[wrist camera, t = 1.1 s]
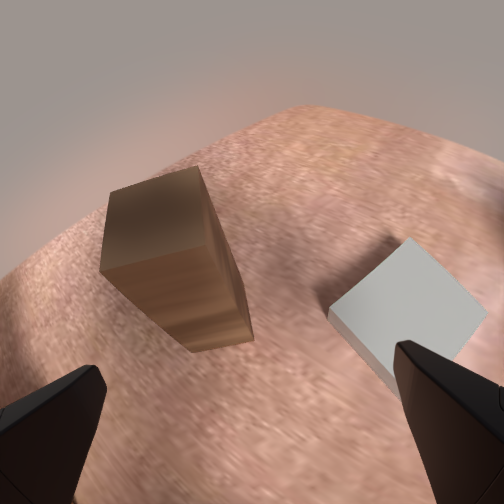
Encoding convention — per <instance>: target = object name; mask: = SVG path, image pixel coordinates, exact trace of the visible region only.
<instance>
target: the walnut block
mask: <svg viewBox="0 0 504 504" xmlns="http://www.w3.org/2000/svg"><path fill="white" fill-rule="evenodd" d="M99 272H100V273H101V274H102V275H103V276H104V277H105V278H106V279H107V280H108V281H109V282H110V283H112V284H113V285H114V286H115V287H116V288H117V289H118V290H119V291H120V292H121V293H122V294H123V295H124V296H126V297H127V298H128V299H129V300H130V301H131V302H132V303H133V304H134V305H135V306H137V307H138V308H139V309H140V310H141V311H142V312H143V313H144V314H146V315H147V316H148V317H149V318H150V319H151V320H153V321H154V322H155V323H156V324H157V325H158V326H160V327H161V328H162V329H163V330H164V331H166V332H167V333H168V334H169V335H170V336H172V337H173V338H174V339H175V340H176V341H178V342H179V343H180V344H181V345H183V346H184V347H185V348H186V349H188V350H189V351H190V352H191V353H194V352H200V351H206V350H211V349H216V348H222V347H227V346H232V345H237V344H241V343H246V342H251V341H255V340H254V335H253V330H252V325H251V320H250V314H249V309H248V304H247V298H246V293H245V288H244V283H243V281H242V278H241V276H240V273H239V271H238V268H237V266H236V263H235V260H234V258H233V255H232V253H231V250H230V248H229V245H228V243H227V240H226V238H225V235H224V232H223V230H222V227H221V225H220V222H219V220H218V217H217V214H216V212H215V209H214V207H213V204H212V201H211V199H210V196H209V194H208V191H207V188H206V186H205V183H204V181H203V178H202V175H201V173H200V170H199V167H198V166H194V167H190V168H187V169H183V170H180V171H176V172H173V173H170V174H166V175H163V176H160V177H156V178H153V179H150V180H147V181H143V182H140V183H137V184H134V185H131V186H128V187H125V188H122V189H119V190H116V191H113V192H111V193H110V197H109V203H108V209H107V215H106V222H105V229H104V236H103V244H102V252H101V261H100V270H99Z"/></svg>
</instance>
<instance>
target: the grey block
mask: <svg viewBox="0 0 504 504" xmlns="http://www.w3.org/2000/svg"><path fill="white" fill-rule="evenodd" d="M487 314H488V312H487V311H486V310H485V308H484V307H483V306H482V305H481V304H480V303H479V302H478V301H477V300H476V299H475V298H474V297H473V296H472V295H471V294H470V293H469V292H468V291H467V290H466V289H465V288H464V287H463V286H462V285H461V284H460V283H459V282H458V281H457V280H456V279H455V278H454V277H453V276H452V275H451V274H450V273H449V272H448V271H447V270H446V269H445V268H444V267H443V266H442V265H440V264H439V263H438V262H437V261H436V260H435V259H434V258H433V257H432V256H431V255H430V254H429V253H428V252H426V251H425V250H424V249H423V248H422V247H421V246H420V245H419V244H418V243H416V242H415V241H414V240H413V239H412V238H411V237H409V238H408V239H407V240H406V241H405V242H404V243H403V244H402V245H401V246H400V247H399V248H397V249H396V250H395V251H394V252H393V253H392V254H391V255H390V256H389V257H388V258H386V259H385V260H384V261H383V262H382V263H381V264H380V265H379V266H377V267H376V268H375V269H374V270H373V271H372V272H371V273H369V274H368V275H367V276H366V277H365V278H364V279H362V280H361V281H360V282H359V283H358V284H357V285H355V286H354V287H353V288H352V289H351V290H349V291H348V292H347V293H346V294H345V295H343V296H342V297H341V298H340V299H339V300H337V301H336V302H335V303H334V304H332V305H331V306H330V307H329V312H328V318H327V320H328V322H329V323H330V324H331V325H332V326H333V327H334V328H335V329H336V330H337V331H338V333H339V334H340V335H341V336H342V337H343V338H344V339H345V340H346V341H347V342H348V344H349V345H350V346H351V347H352V348H353V349H354V350H355V351H356V352H357V353H358V355H359V356H360V357H361V358H362V359H363V360H364V361H365V362H366V363H367V365H368V366H369V367H370V368H371V369H372V370H373V371H374V372H375V373H376V374H377V376H378V377H379V378H380V379H381V380H382V381H383V382H384V383H385V384H386V386H387V387H388V388H389V389H390V390H391V391H392V392H393V393H394V394H395V396H396V397H397V398H398V399H399V400H400V401H401V397H400V394H399V390H398V386H397V383H396V379H395V376H394V371H393V361H394V351H395V345H396V343H397V342H399V341H404V340H412V341H414V342H416V343H418V344H420V345H422V346H424V347H426V348H427V349H429V350H431V351H433V352H435V353H437V354H439V355H441V356H443V357H445V358H447V359H449V360H451V361H452V360H453V359H454V358H455V357H456V355H457V354H458V353H459V352H460V350H461V349H462V348H463V347H464V345H465V344H466V343H467V341H468V340H469V339H470V338H471V336H472V335H473V334H474V332H475V331H476V330H477V328H478V327H479V325H480V324H481V323H482V321H483V320H484V318H485V317H486V315H487ZM401 402H402V401H401Z"/></svg>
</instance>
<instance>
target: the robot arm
mask: <svg viewBox="0 0 504 504" xmlns="http://www.w3.org/2000/svg"><path fill="white" fill-rule="evenodd" d="M393 371H394V376H395V379H396V383H397V386H398V390H399V394H400V397H401V401H402V405H403V409H404V413H405V416H406V419H407V422H408V424H409V427H410V429H411V432H412V435H413V437H414V440H415V442H416V445H417V448H418V450H419V453H420V456H421V459H422V461H423V464H424V467H425V470H426V473H427V476H428V479H429V482H430V484H431V487H432V490H433V493H434V497H435V500H436V503H437V504H504V387H502V386H499V385H498V384H496V383H494V382H492V381H490V380H488V379H486V378H484V377H482V376H480V375H478V374H476V373H474V372H472V371H470V370H469V369H467V368H465V367H463V366H461V365H459V364H457V363H455V362H453V361H451V360H449V359H447V358H445V357H443V356H441V355H439V354H437V353H435V352H433V351H431V350H429V349H427V348H426V347H424V346H422V345H420V344H418V343H416V342H414V341H412V340H404V341H399V342H397V343H396V345H395V351H394V361H393ZM106 393H107V386H106V383H105V381H104V379H103V377H102V375H101V373H100V370H99V368H98V367H97V366H95V365H84V366H82V367H80V368H78V369H76V370H74V371H72V372H71V373H69V374H67V375H65V376H63V377H61V378H59V379H57V380H56V381H54V382H52V383H50V384H48V385H46V386H44V387H42V388H40V389H39V390H37V391H35V392H33V393H31V394H29V395H27V396H25V397H23V398H21V399H19V400H18V401H16V402H14V403H12V404H10V405H8V406H6V407H5V408H2V409H0V504H71V503H72V500H73V497H74V493H75V490H76V487H77V484H78V481H79V478H80V475H81V472H82V469H83V466H84V463H85V460H86V458H87V455H88V452H89V449H90V446H91V444H92V441H93V438H94V435H95V433H96V430H97V426H98V423H99V419H100V415H101V411H102V408H103V404H104V400H105V397H106Z"/></svg>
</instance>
